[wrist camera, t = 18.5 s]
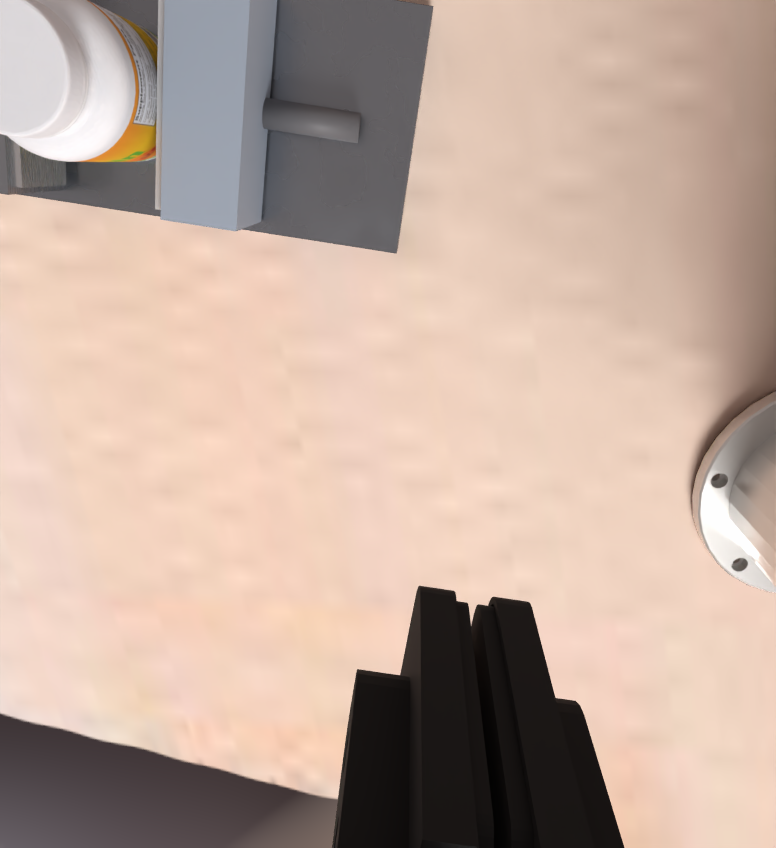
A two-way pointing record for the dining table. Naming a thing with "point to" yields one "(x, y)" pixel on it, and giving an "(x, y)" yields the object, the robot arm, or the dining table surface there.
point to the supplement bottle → (77, 82)
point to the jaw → (223, 111)
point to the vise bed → (287, 152)
